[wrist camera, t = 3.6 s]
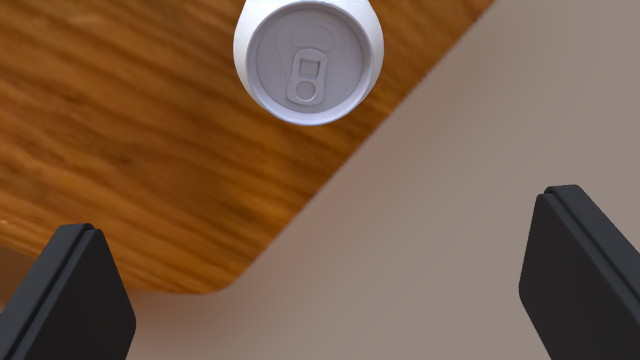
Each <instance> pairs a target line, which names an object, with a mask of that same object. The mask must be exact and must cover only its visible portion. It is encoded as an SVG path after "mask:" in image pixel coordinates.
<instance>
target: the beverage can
mask: <svg viewBox="0 0 640 360" xmlns="http://www.w3.org/2000/svg"><path fill="white" fill-rule="evenodd" d="M233 53H234V61H235V66H236V70H237V73H238V75H239V78H240V80H241V82H242V84H243V86H244V87H245V89H246V90H247V92H248V93H249V95H250V96H251V97H252V98H253V99H254V100H255V101H256V102H257V103H258V104H259V105H260V106H261V107H263V108H264V109H265V110H267V111H268V112H270V113H271V114H273V115H274V116H276V117H277V118H279V119H281V120H284V121H286V122H289V123H292V124H297V125H304V126H316V125H322V124H327V123H330V122H333V121H335V120H338V119H340V118H342V117H343V116H345V115H346V114H348V113H349V112H351V111H352V110H353V109H354V108H355V107H356V106H357V105H358V104H359V103H361V102H362V101H363V99H364V98H365V97H366V96H367V95H368V94H369V92H370V91H371V89H372V88H373V86H374V85H375V83H376V81H377V78H378V76H379V74H380V71H381V67H382V63H383V56H384V41H383V34H382V30H381V26H380V23H379V21H378V18H377V16H376V14H375V12H374V10H373V9H372V7H371V5H370V3H369V1H368V0H246V3H245V6H244V8H243V11H242V13H241V16H240V19H239V21H238V24H237V27H236V31H235V36H234V44H233Z"/></svg>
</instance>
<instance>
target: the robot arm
mask: <svg viewBox="0 0 640 360" xmlns="http://www.w3.org/2000/svg"><path fill="white" fill-rule="evenodd" d="M519 296H520V299H521V302H522V304H523V306H524V308H525V310H526V312H527V314H528V315H529V317H530V319H531V321H532V323H533V325H534V327H535V329H536V331H537V333H538V335H539V337H540V339H541V340H542V342H543V344H544V346H545V348H546V350H547V352H548V354H549V356H550V358H551V359H552V360H640V253H639V252H638V251H637V250H636V249H635V248H634V247H633V246H632V245H631V243H630V242H628V240H627V239H626V238H625V237H624V236H623V234H622V233H621V232H620V231H619V230H618V229H617V228H616V227H615V226H614V224H613V223H612V222H611V221H610V220H609V219H608V218H607V217H606V215H605V214H604V213H603V212H602V211H601V210H600V209H599V208H598V207H597V205H596V204H595V203H594V202H593V201H592V200H591V199H590V197H589V196H588V195H587V194H586V193H585V192H584V191H583V190H582V189H581V188H580V187H579V186H578V185H563V186H550V187H547V188H546V190H545V191H544V194H539V195H538V196H537V198H536V202H535V207H534V212H533V217H532V222H531V227H530V232H529V237H528V242H527V247H526V252H525V257H524V262H523V267H522V272H521V277H520V282H519ZM135 329H136V318H135V314H134V312H133V309H132V306H131V304H130V301H129V299H128V296H127V293H126V291H125V288H124V285H123V283H122V280H121V278H120V275H119V273H118V270H117V267H116V265H115V262H114V260H113V257H112V254H111V252H110V249H109V247H108V244H107V241H106V239H105V236H104V234H103V232H102V231H101V230H100V229H95V228H94V226H93V225H92V224H90V223H83V224H70V225H62V226H60V227H59V228H58V229H57V230H56V232H55V233H54V235H53V236H52V238H51V239H50V241H49V242H48V244H47V245H46V247H45V248H44V250H43V251H42V253H41V254H40V256H39V257H38V259H37V260H36V262H35V263H34V265H33V266H32V268H31V269H30V271H29V273H28V274H27V275H26V277H25V278H24V280H23V281H22V283H21V284H20V286H19V287H18V289H17V290H16V292H15V293H14V295H13V297H12V298H11V300H10V301H9V302H8V304H7V305H6V307H5V308H4V310H3V312H2V313H1V314H0V360H125V359H126V357H127V354H128V351H129V348H130V345H131V342H132V339H133V336H134V334H135Z"/></svg>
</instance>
